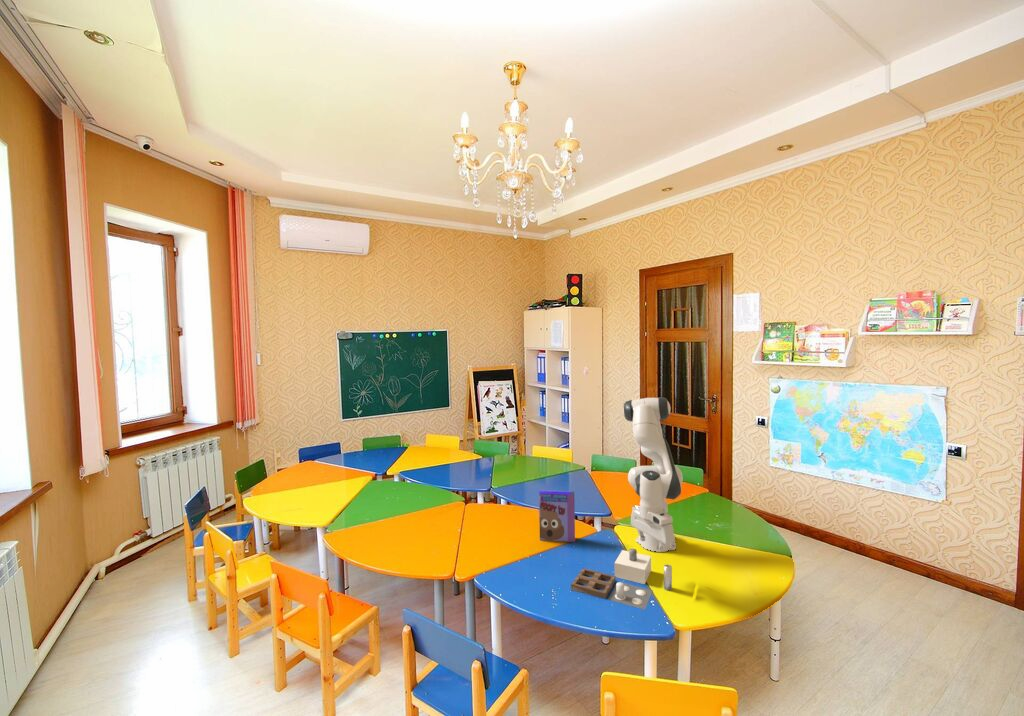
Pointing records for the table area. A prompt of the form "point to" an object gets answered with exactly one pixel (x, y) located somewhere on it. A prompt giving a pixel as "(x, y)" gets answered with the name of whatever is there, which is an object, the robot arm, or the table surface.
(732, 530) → the table surface
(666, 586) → the steel pin
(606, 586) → the socket board
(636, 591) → the board
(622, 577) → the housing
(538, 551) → the table surface
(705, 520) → the table surface
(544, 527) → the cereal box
